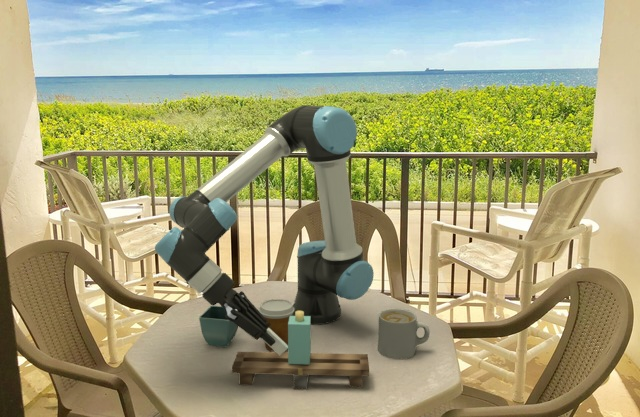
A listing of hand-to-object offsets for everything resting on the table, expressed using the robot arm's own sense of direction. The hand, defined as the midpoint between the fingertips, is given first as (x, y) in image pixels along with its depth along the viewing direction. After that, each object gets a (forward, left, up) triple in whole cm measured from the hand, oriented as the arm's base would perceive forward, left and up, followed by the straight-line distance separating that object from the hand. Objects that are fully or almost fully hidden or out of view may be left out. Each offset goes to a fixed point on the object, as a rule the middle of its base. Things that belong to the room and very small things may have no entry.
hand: (283, 350), depth 136 cm
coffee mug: (-33, +10, -8) cm, 35 cm away
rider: (-3, +3, -4) cm, 5 cm away
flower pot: (0, -27, -8) cm, 28 cm away
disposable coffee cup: (-10, -15, -8) cm, 20 cm away
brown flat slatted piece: (-3, +3, -8) cm, 9 cm away
